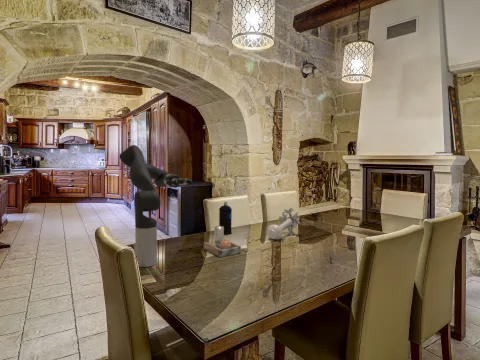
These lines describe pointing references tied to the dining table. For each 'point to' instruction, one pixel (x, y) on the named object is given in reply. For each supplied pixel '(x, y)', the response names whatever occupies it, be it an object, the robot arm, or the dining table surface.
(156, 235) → the robot arm
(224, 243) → the cylinder
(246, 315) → the dining table surface
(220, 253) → the channel
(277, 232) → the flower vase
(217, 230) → the shaft
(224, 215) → the aerosol can
